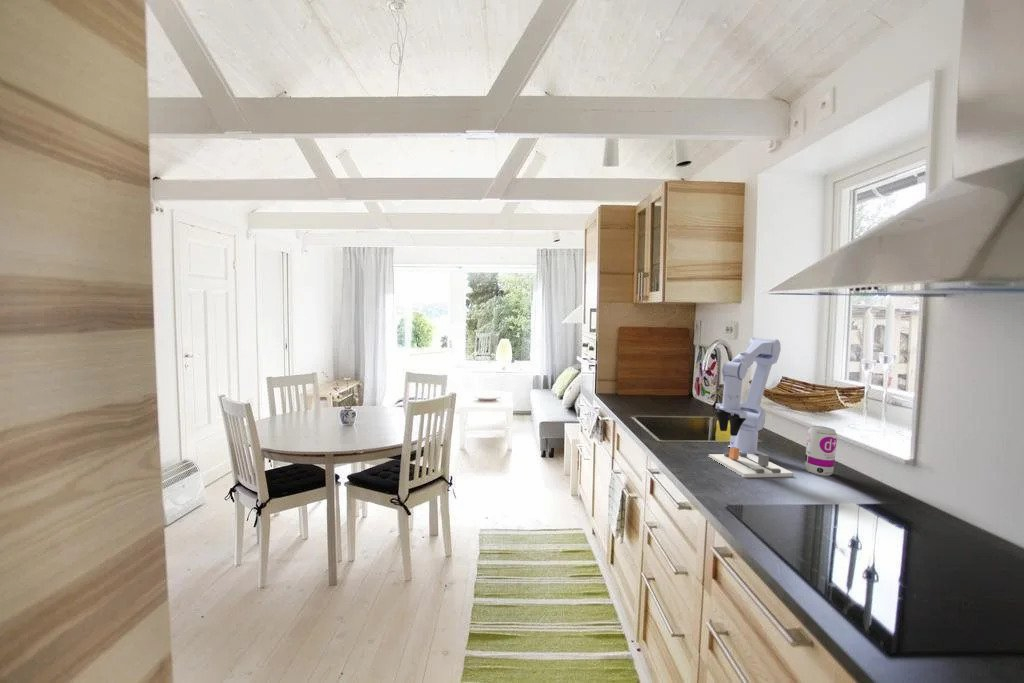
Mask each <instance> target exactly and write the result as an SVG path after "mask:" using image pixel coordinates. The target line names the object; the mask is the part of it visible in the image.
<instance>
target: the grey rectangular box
mask: <svg viewBox="0 0 1024 683" xmlns="http://www.w3.org/2000/svg"><path fill="white" fill-rule="evenodd" d="M758 456H759V458H758V464H759V465H761V466H768V463H769V462H770V461H769V460H770V455H768V454H766V453H763V452H761V453H759V454H758Z"/></svg>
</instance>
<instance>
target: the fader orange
mask: <svg viewBox="0 0 1024 683" xmlns="http://www.w3.org/2000/svg"><path fill="white" fill-rule="evenodd" d="M728 453H729V457H730V458H732V459H739V453H740V452H739V449H738V448H736V447H730V448H729V452H728Z"/></svg>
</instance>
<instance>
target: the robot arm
mask: <svg viewBox="0 0 1024 683" xmlns="http://www.w3.org/2000/svg"><path fill="white" fill-rule="evenodd" d="M780 353H781V341H780V340H779V339H776V338H775V339H770V338H758V337H751V338H750V339H749V342H748V347H747V349H746V350H744V351H740V352H739V353H738V354H737V355H736V356H735V357H734V358H733V359H732V360H731V361H729V360H728V361H726V362H724V364H723V366H722V369H721V374H722V382H723V393H722V403H721V402H719V403H718V402H716V403H715V409H717V410H715V411H714V413H715V415H716V417H717V419H718V420H717V421H718V425H719V430H720V431H721V432H727V430H728V427H729V429H730V430H729V433H730V441H729V444H728V445H727V447H728V448H729V447H736V448H738V449H739V453H740V452H741V453H743V452H745V453H747V454H754V455H759V453H762V452H761V451H759V450H758V438H759V431H761V430H762V429H763V428H764V426H765V424H766V415H767V412H766V410H765V408H763V406H761V403H762V399H763V396H764V392H765V389H766V385H767V384H768V378H769V375H770V372H771V369H772V366H773V365H774V364H777V362H778V360H779V358H780V357H779V356H780ZM754 362H755V363H756V366H755V370H754V372H753V373H754V374H753V376H752V380H751V383H750V386H749V390H748V393H747V396H746V400H745V401H744V402H741V399H742V398H741V397H742V387H743V380H744V379H745V377H746V375H747V373H748V369H749V368H750V367H751V366H753V364H754Z"/></svg>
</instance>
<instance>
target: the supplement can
mask: <svg viewBox="0 0 1024 683" xmlns="http://www.w3.org/2000/svg"><path fill="white" fill-rule="evenodd" d="M837 440H838V434H837V431H836V429H834V428H831V427H826V426H821V425H811V426H810V428H809V429H808V430H807V438H806V447H805V457H804V469H805V470H806V471H807V472H808V473H810V472H811V474H813V475H818V476H823V477H825V476H827V477H828V476H831V475H833V474H834V467H835V460H836V459H835V458H836V450H837V443H838V442H837Z"/></svg>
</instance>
